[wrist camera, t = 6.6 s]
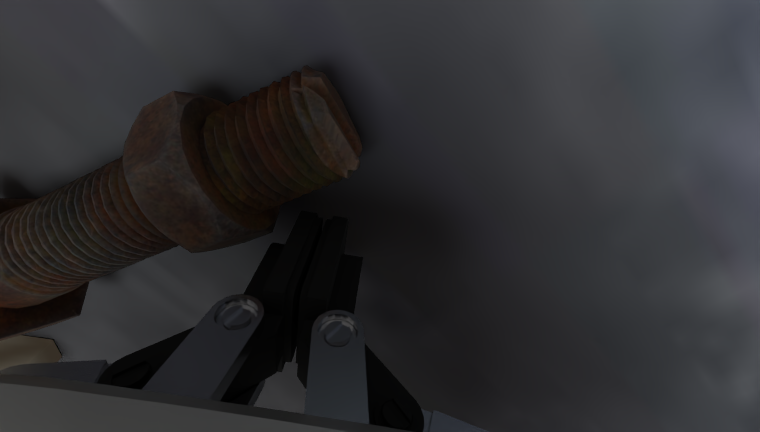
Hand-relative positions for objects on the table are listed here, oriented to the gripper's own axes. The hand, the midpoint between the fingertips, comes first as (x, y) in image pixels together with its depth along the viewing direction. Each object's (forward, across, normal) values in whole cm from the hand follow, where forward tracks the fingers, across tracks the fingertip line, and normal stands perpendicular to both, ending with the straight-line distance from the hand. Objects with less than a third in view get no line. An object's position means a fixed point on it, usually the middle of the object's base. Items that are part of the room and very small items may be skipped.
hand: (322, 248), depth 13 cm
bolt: (+2, +6, -1) cm, 6 cm away
